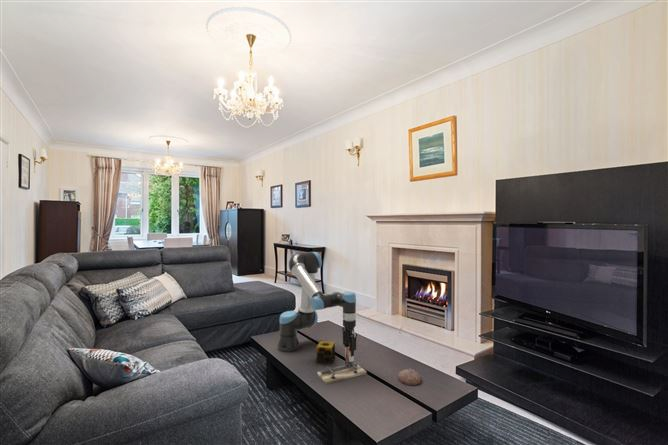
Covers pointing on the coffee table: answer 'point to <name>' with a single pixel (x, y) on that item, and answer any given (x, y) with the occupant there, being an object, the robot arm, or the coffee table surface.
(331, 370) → the rail
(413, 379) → the decorative stone
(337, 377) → the board
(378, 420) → the coffee table surface
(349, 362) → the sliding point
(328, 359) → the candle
